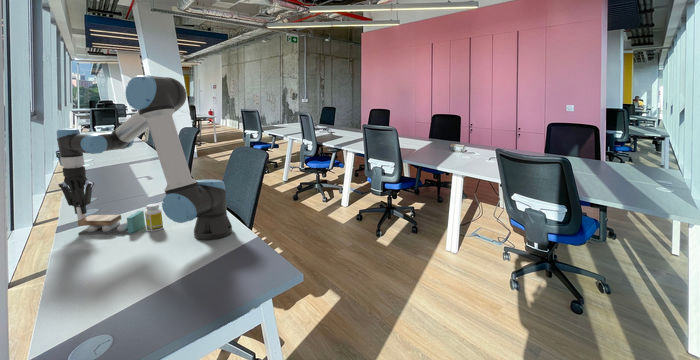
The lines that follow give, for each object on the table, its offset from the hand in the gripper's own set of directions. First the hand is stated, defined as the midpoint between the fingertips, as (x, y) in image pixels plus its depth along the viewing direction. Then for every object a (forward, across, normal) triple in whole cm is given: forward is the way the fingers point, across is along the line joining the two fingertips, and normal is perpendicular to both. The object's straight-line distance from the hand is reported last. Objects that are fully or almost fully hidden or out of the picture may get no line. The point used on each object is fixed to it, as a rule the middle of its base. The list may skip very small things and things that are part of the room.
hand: (82, 221), depth 154 cm
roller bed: (+4, -12, 0) cm, 13 cm away
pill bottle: (+5, -29, 0) cm, 30 cm away
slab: (+1, -7, 0) cm, 7 cm away
